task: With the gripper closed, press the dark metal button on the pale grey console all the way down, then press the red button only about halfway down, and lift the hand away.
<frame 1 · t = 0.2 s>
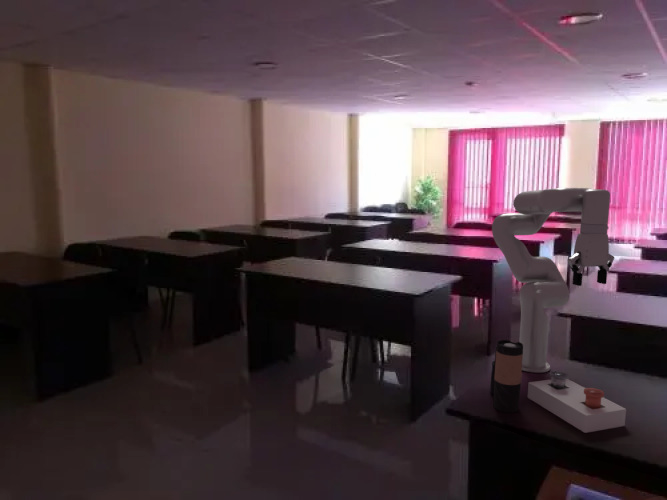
hand: (589, 284, 169), 36 cm above the table, tool pointing down, fingers open, 9 cm apart
two-way radio: (497, 393, 174), on the table
travel mug: (505, 407, 163), on the table
console: (573, 410, 161), on the table
metal button: (558, 380, 167), point 7 cm above the table, slide at 0.0 cm
red button: (593, 399, 154), point 7 cm above the table, slide at 0.0 cm
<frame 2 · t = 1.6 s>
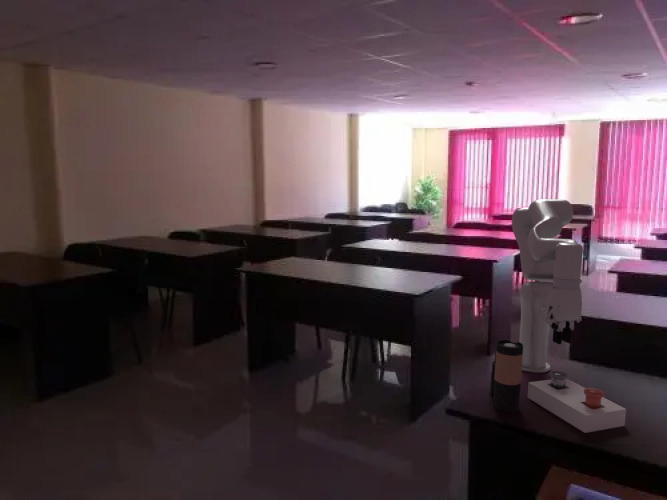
hand: (561, 341, 165), 19 cm above the table, tool pointing down, fingers closed
nothing on the table moved.
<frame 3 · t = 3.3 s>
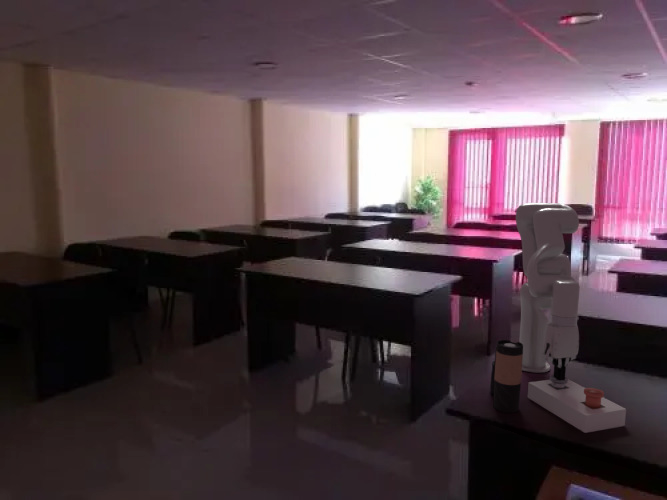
hand: (559, 378, 166), 8 cm above the table, tool pointing down, fingers closed
metal button: (558, 385, 167), point 5 cm above the table, slide at 1.4 cm, touching gripper
everything else where it was.
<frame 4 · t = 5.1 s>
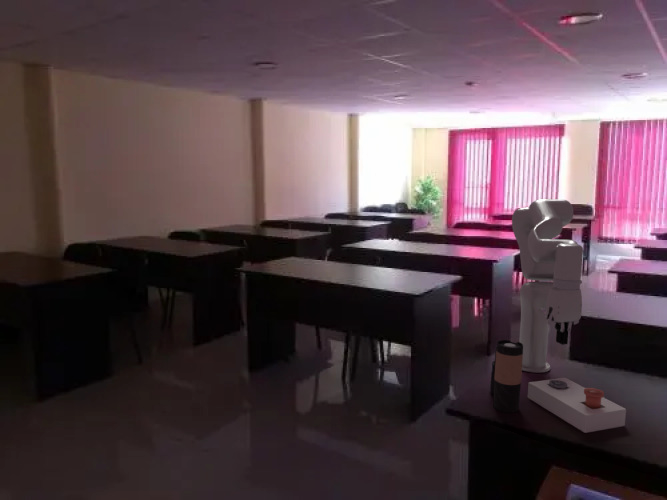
hand: (561, 342, 165), 19 cm above the table, tool pointing down, fingers closed
metal button: (557, 390, 167), point 4 cm above the table, slide at 3.1 cm
everything else where it was.
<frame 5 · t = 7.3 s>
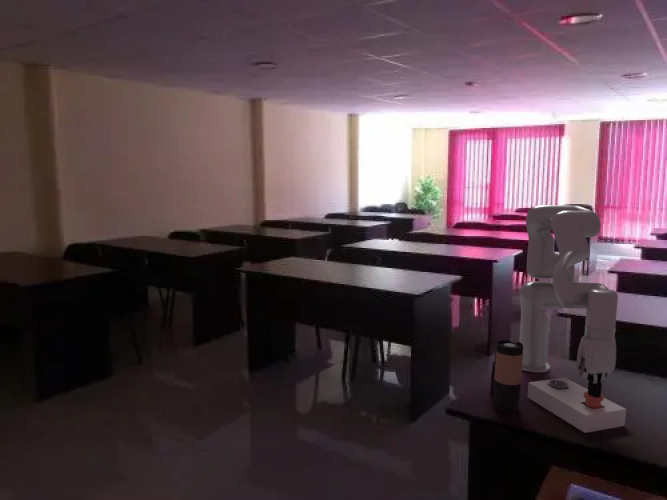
hand: (594, 395, 153), 8 cm above the table, tool pointing down, fingers closed
red button: (593, 402, 154), point 6 cm above the table, slide at 1.1 cm, touching gripper
everything else where it was.
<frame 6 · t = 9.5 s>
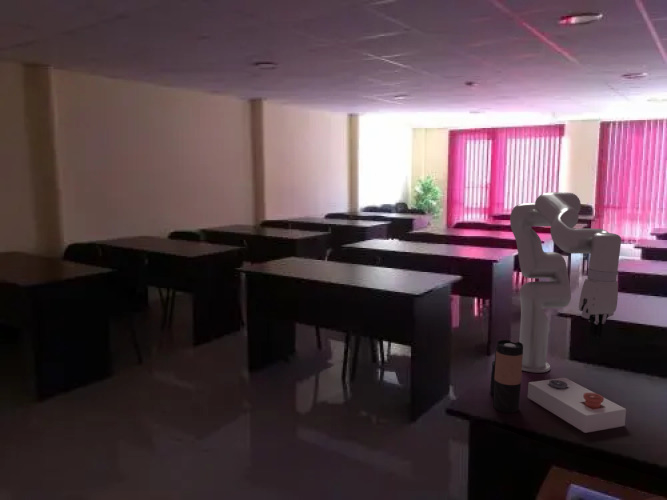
hand: (595, 335, 160), 23 cm above the table, tool pointing down, fingers closed
red button: (592, 403, 154), point 5 cm above the table, slide at 1.5 cm
everything else where it was.
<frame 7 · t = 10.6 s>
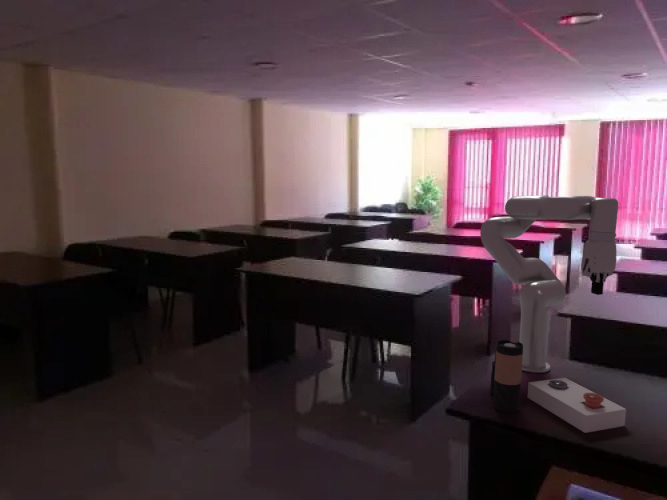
hand: (596, 293, 173), 32 cm above the table, tool pointing down, fingers closed
nothing on the table moved.
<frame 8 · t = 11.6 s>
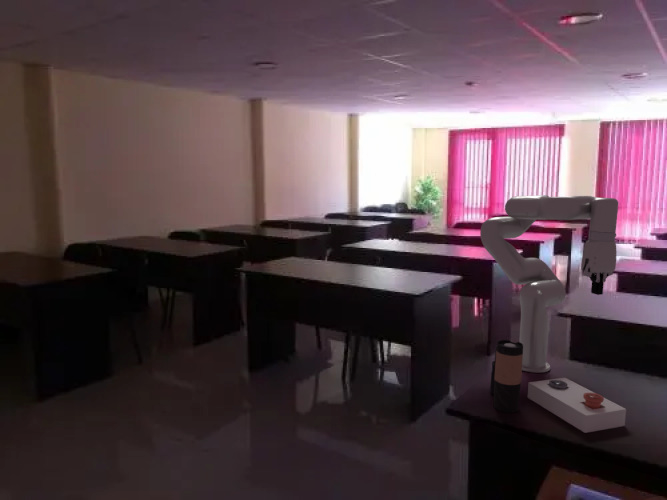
hand: (596, 293, 173), 32 cm above the table, tool pointing down, fingers closed
nothing on the table moved.
at the end: metal button slide at 3.1 cm; red button slide at 1.5 cm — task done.
